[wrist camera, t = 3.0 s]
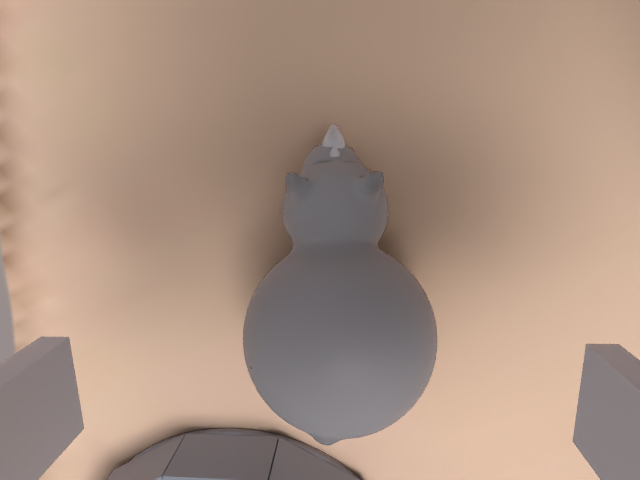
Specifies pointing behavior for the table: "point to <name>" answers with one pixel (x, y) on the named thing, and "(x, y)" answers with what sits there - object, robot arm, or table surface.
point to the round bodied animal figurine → (338, 308)
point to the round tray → (231, 458)
